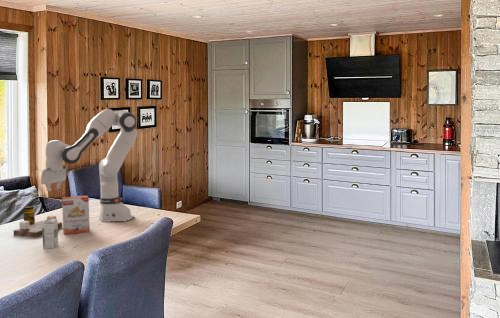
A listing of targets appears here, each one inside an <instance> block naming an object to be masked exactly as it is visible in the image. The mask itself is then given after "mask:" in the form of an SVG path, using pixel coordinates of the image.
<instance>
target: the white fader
mask: <svg viewBox="0 0 500 318" xmlns="http://www.w3.org/2000/svg"><path fill="white" fill-rule="evenodd" d="M18 223H19V228H20V229H28V228H30V227H29V221H24V220H21V221H19V222H18Z"/></svg>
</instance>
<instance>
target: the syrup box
mask: <svg viewBox="0 0 500 318" xmlns="http://www.w3.org/2000/svg"><path fill="white" fill-rule="evenodd" d="M42 221H43V222H42V230H43V235H42V249H44V250H45V249H48V250H49V249H56V248H57V247H58V246H59V231H58V230H59V229H58V224H57V222H58V218H56V219H53V218H50V219H47V218H46V219H44V220H42Z"/></svg>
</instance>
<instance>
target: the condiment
mask: <svg viewBox="0 0 500 318" xmlns="http://www.w3.org/2000/svg"><path fill="white" fill-rule="evenodd" d="M23 221H29V225H31V224H34V223H36V219H35V210H34V206H31V205H28V206H24V207H23Z"/></svg>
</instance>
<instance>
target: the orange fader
mask: <svg viewBox="0 0 500 318" xmlns="http://www.w3.org/2000/svg"><path fill="white" fill-rule="evenodd" d="M50 218H53V219H57V216H56V215H48V216H46V219H50Z"/></svg>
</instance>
